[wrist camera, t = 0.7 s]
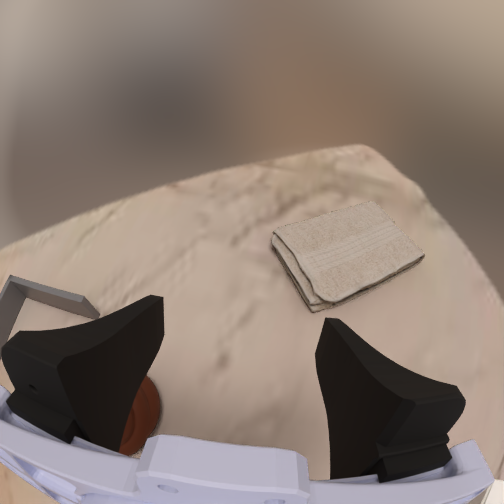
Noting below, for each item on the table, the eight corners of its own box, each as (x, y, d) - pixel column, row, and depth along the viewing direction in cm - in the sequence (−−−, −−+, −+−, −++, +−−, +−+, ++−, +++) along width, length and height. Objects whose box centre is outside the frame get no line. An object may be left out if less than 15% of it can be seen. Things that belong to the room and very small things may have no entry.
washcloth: (264, 244, 36) (264, 227, 33) (370, 207, 40) (375, 192, 38) (312, 323, 29) (318, 309, 26) (421, 264, 33) (430, 249, 31)
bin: (54, 471, 16) (31, 469, 13) (-19, 414, 17) (-39, 405, 14) (99, 314, 29) (84, 296, 25) (25, 291, 30) (10, 274, 27)
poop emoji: (129, 474, 18) (76, 479, 11) (68, 422, 20) (9, 400, 13) (180, 397, 23) (146, 370, 16) (115, 352, 26) (70, 310, 19)
